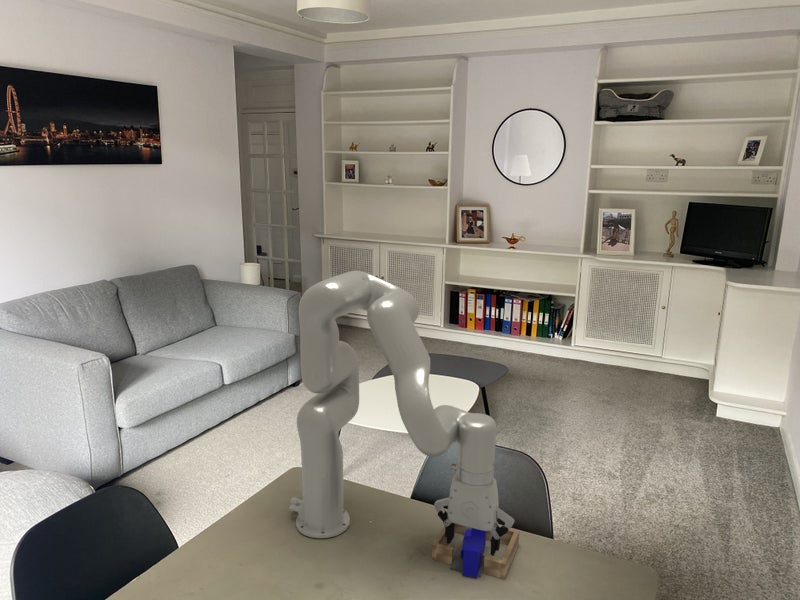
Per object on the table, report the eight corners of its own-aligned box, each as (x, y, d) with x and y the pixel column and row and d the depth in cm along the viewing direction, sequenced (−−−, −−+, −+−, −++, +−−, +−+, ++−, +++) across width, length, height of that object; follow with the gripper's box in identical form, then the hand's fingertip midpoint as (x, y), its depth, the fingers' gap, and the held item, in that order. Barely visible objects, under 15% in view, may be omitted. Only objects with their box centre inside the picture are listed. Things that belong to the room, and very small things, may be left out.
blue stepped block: (465, 540, 140) (466, 516, 138) (485, 544, 138) (486, 520, 137) (455, 573, 128) (456, 547, 127) (476, 577, 127) (478, 552, 126)
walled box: (429, 563, 132) (429, 548, 131) (450, 527, 145) (451, 514, 144) (502, 583, 126) (503, 568, 125) (518, 544, 139) (519, 530, 138)
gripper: (430, 472, 128) (427, 545, 132) (512, 490, 122) (507, 567, 126) (442, 457, 135) (439, 527, 139) (520, 473, 129) (515, 546, 132)
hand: (471, 546), depth 132 cm, fingers open, 9 cm apart
